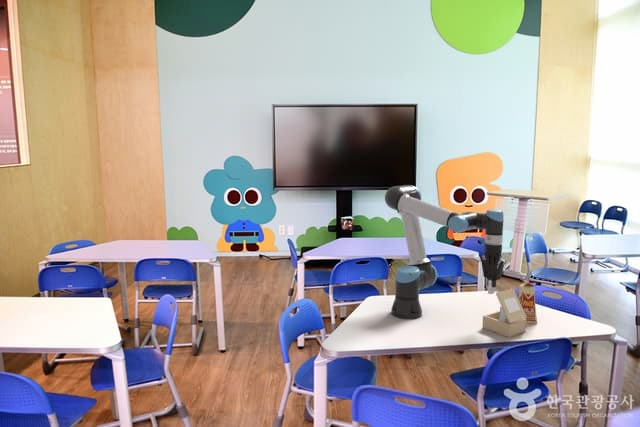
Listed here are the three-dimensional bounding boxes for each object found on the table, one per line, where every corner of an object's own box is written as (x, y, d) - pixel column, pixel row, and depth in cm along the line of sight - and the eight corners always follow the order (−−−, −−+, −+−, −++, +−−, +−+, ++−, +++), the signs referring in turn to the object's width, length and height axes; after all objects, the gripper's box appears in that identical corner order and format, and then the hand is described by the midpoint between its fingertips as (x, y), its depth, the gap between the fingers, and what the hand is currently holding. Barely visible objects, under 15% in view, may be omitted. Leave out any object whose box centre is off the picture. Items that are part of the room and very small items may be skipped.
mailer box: (482, 328, 224) (483, 303, 222) (498, 323, 231) (499, 299, 229) (509, 337, 212) (510, 312, 211) (525, 332, 219) (526, 307, 218)
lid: (495, 293, 217) (497, 292, 216) (511, 288, 223) (513, 288, 223) (509, 323, 212) (510, 322, 211) (525, 318, 218) (527, 317, 218)
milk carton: (537, 323, 231) (540, 282, 228) (516, 321, 232) (519, 281, 230) (533, 316, 239) (535, 277, 237) (513, 315, 241) (515, 276, 239)
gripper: (476, 242, 226) (474, 291, 229) (500, 246, 215) (498, 298, 218) (486, 240, 230) (484, 288, 233) (511, 244, 219) (508, 295, 222)
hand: (491, 293), depth 226 cm, fingers closed
